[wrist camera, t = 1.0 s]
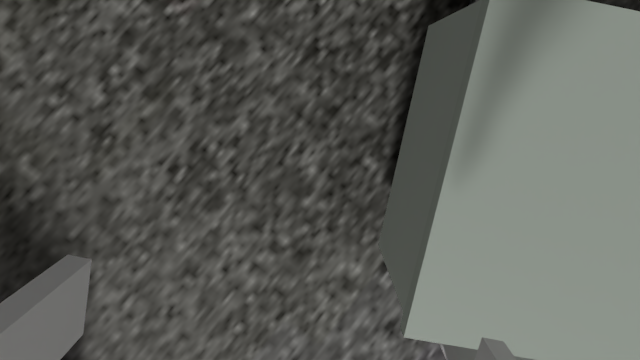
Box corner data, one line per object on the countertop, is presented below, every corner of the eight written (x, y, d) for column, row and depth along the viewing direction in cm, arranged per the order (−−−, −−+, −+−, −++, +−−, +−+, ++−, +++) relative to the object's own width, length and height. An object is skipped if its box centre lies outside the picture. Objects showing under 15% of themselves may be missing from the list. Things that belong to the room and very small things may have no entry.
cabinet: (416, 14, 34) (500, -43, 18) (674, 67, 35) (962, 55, 19) (367, 231, 38) (403, 337, 22) (602, 273, 39) (796, 403, 23)
